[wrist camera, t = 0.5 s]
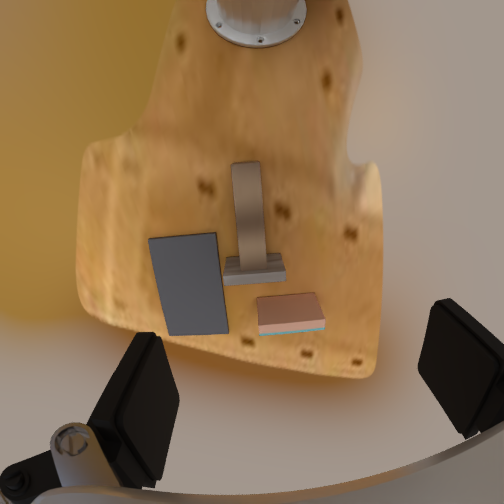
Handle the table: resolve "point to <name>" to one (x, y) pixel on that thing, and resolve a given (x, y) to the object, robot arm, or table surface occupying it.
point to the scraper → (251, 232)
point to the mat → (190, 284)
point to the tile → (289, 314)
